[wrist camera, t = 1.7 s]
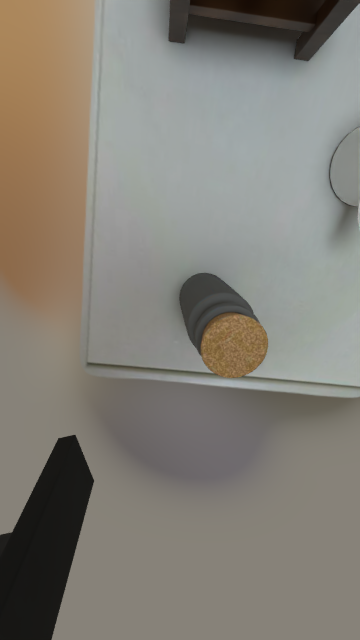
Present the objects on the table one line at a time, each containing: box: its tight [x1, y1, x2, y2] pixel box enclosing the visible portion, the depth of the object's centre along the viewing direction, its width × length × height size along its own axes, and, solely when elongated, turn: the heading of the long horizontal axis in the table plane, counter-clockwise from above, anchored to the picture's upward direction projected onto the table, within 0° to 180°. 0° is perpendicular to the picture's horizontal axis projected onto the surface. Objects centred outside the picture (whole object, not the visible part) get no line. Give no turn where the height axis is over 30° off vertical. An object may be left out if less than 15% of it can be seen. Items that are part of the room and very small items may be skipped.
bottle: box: [180, 273, 268, 378], centre depth 26 cm, size 6×6×15 cm
